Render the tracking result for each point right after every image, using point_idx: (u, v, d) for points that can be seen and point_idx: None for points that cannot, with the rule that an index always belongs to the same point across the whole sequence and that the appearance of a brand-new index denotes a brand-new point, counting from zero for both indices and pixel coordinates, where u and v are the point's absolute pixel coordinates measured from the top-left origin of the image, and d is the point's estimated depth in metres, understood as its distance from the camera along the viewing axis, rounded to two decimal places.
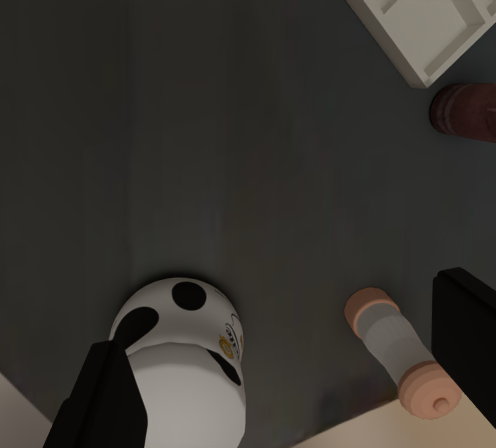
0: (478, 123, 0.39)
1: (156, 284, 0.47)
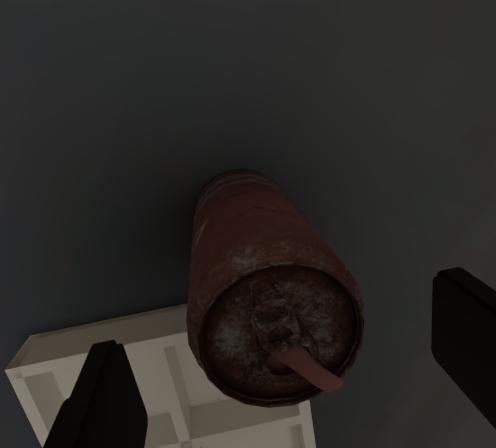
0: None
1: None
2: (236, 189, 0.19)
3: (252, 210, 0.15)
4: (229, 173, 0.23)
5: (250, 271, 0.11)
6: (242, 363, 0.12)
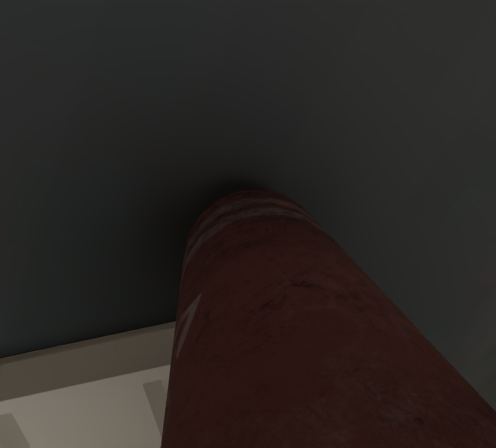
0: None
1: None
2: (251, 230, 0.11)
3: (293, 295, 0.07)
4: (236, 195, 0.15)
5: None
6: None
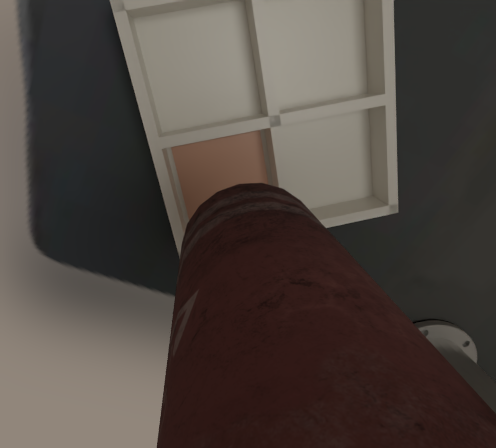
0: None
1: None
2: (249, 225, 0.11)
3: (291, 294, 0.07)
4: (234, 189, 0.15)
5: None
6: None
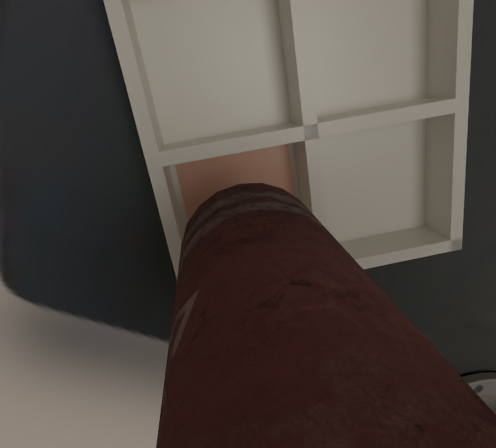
0: None
1: None
2: (249, 225, 0.11)
3: (291, 294, 0.07)
4: (234, 189, 0.15)
5: None
6: None
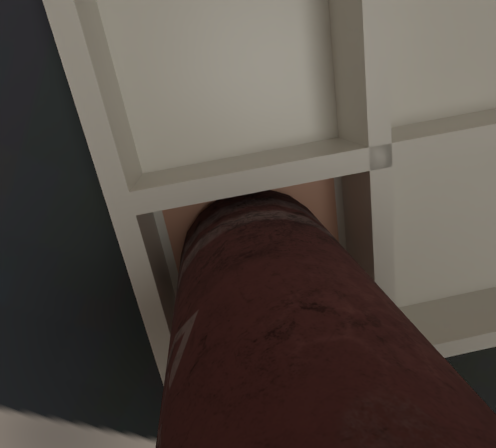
0: None
1: None
2: (253, 237, 0.10)
3: (303, 322, 0.06)
4: None
5: None
6: None
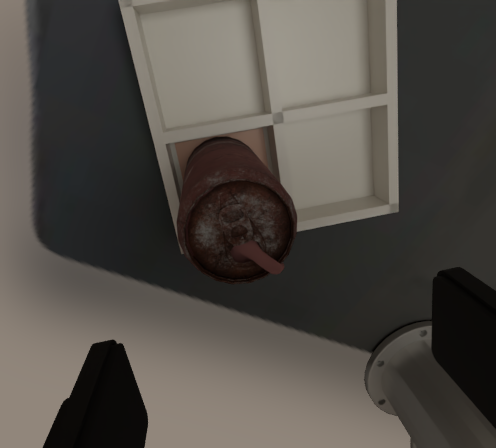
0: None
1: None
2: (216, 146, 0.24)
3: (224, 156, 0.21)
4: (213, 138, 0.28)
5: (217, 184, 0.17)
6: (214, 252, 0.18)
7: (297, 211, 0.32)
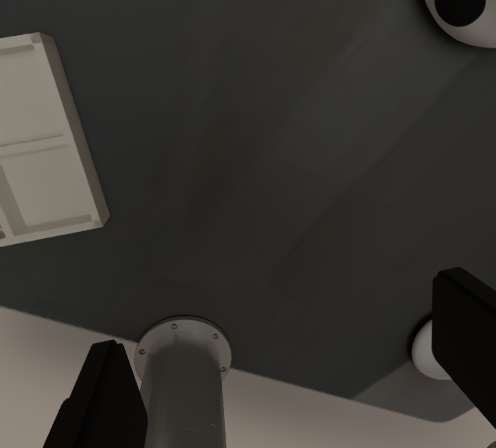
0: None
1: (465, 41, 0.36)
2: None
3: None
4: None
5: None
6: None
7: (32, 226, 0.40)
